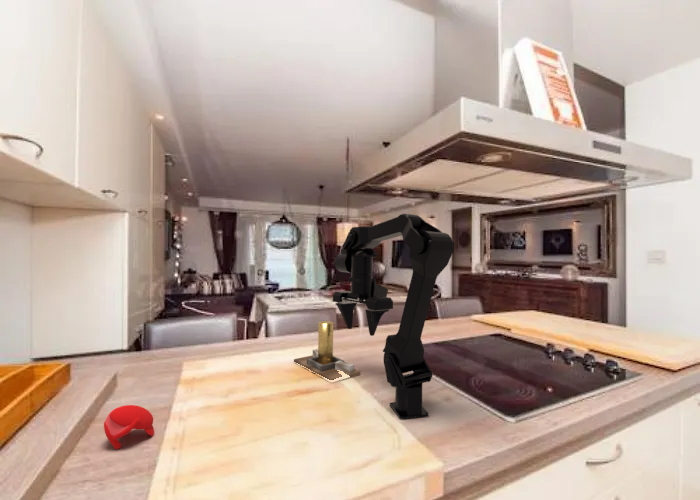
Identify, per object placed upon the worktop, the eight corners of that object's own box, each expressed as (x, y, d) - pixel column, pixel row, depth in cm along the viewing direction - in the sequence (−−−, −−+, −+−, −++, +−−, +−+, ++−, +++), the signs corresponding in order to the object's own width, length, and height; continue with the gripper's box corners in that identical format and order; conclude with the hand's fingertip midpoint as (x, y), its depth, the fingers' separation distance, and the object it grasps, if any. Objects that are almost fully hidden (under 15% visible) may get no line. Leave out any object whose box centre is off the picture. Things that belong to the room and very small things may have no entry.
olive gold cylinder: (331, 367, 90) (332, 324, 90) (316, 367, 91) (317, 323, 91) (333, 362, 95) (334, 321, 95) (319, 362, 95) (320, 320, 95)
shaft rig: (360, 374, 88) (360, 364, 88) (330, 383, 82) (331, 371, 82) (320, 356, 104) (321, 347, 104) (293, 362, 97) (294, 352, 97)
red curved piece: (95, 439, 50) (134, 413, 52) (98, 411, 54) (134, 389, 56) (127, 461, 54) (162, 437, 56) (127, 434, 58) (159, 413, 61)
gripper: (408, 275, 82) (407, 335, 82) (361, 271, 97) (360, 322, 96) (377, 276, 75) (376, 341, 75) (332, 272, 90) (331, 327, 89)
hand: (360, 332), depth 84 cm, fingers open, 9 cm apart
